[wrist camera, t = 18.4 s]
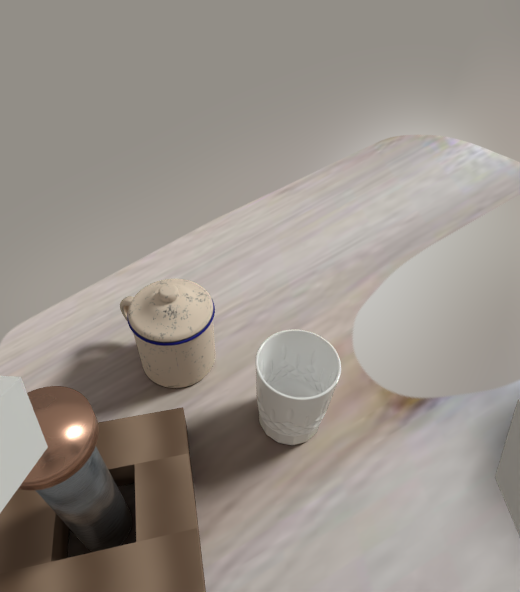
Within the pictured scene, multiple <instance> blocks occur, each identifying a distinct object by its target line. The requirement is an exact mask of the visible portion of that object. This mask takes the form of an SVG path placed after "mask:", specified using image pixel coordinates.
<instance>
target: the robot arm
mask: <svg viewBox="0 0 520 592" xmlns="http://www.w3.org/2000/svg"><path fill="white" fill-rule="evenodd" d="M47 448H48V446H47V443H46V441H45V438H44V436H43V433H42V431H41V428H40V425H39V423H38V420H37V418H36V415H35V413H34V410H33V407H32V405H31V402H30V400H29V397H28V395H27V392H26V389H25V387H24V384H23V382H22V379H21V377H13V376H0V513H1V512H2V510H3V509H4V507H5V506H6V505H7V503H8V502H9V500H10V499H11V498H12V496H13V495H14V493H15V492H16V491H17V489H18V488H19V487H20V485H21V484H22V482H23V481H24V480H25V478H26V477H27V475H28V474H29V473H30V471H31V470H32V468H33V467H34V466H35V464H36V463H37V462H38V460H39V459H40V457H41V456H42V455H43V453H44V452H45V450H46V449H47ZM495 479H496V481H497V483H498V486H499V488H500V490H501V493H502V495H503V498H504V500H505V502H506V505H507V507H508V510H509V512H510V514H511V517H512V519H513V522H514V524H515V526H516V529H517V531H518V533H519V536H520V399H518V402H517V405H516V409H515V412H514V415H513V419H512V422H511V425H510V429H509V432H508V436H507V439H506V442H505V446H504V449H503V452H502V456H501V459H500V463H499V466H498V469H497V473H496V476H495Z"/></svg>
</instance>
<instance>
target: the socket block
mask: <svg viewBox="0 0 520 592" xmlns="http://www.w3.org/2000/svg"><path fill="white" fill-rule="evenodd" d="M98 426H99V434H98V440H97V444H96V447H97V449H98V451H99V453H100V455H101V457H102V459H103V460H104V462H105V464H106V466H107V468H108V470H109V472H110V474H111V476H112V477H113V479H114V481H115V483H116V485H117V487H119V486H124V485H129V484H133V483H135V506H136V542H135V543H130V544H126V545H122V546H117V547H113V548H109V549H104V550H100V551H96V552H91V553H87V554H83V555H78V556H74V557H70V558H67V551H68V537H69V527H68V526H67V525H66V524H65V523H64V522H63V521H62V520H61V518H60V517H59V516H58V515H57V514H56V513H55V512H54V511H53V510H52V508H51V507H50V506H49V505H48V504H47V503H46V502H45V501H44V499H43V498H42V497H41V496H40V495H39V494H38V493H37V492H36V491H35V490H21V489H17V491H16V492H15V493H14V495H13V496H12V498H11V499H10V500H9V502H8V503H7V505H6V506H5V507H4V509H3V510H2V512H1V513H0V592H206V589H205V580H204V572H203V563H202V554H201V546H200V537H199V529H198V520H197V512H196V503H195V494H194V486H193V477H192V469H191V460H190V452H189V443H188V434H187V426H186V421H185V415H184V410H183V408H177V409H172V410H166V411H161V412H155V413H149V414H144V415H138V416H133V417H127V418H122V419H116V420H111V421H105V422H99V423H98Z"/></svg>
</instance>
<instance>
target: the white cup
mask: <svg viewBox="0 0 520 592" xmlns="http://www.w3.org/2000/svg"><path fill="white" fill-rule="evenodd" d="M340 374H341V362H340V358H339V356H338V354H337V352H336V350H335V349H334V347H333V346H332V345H331V344H330V343H329V342H328V341H327V340H325V339H324V338H322V337H321V336H319V335H317V334H315V333H312V332H309V331H305V330H285V331H281V332H278V333H275V334H273V335H272V336H270V337H269V338H267V339H266V340H265V341H264V342H263V343H262V344H261V346H260V347H259V349H258V351H257V354H256V392H257V405H258V408H259V423H260V424H261V426H262V428H263V430H264V431H265V433H266V435H268V436H269V437H271V438H272V439H274V440H275V441H276V442H278V443H283V444H288V445H296V444H300V443H304V442H307V441H308V440H309V439H310V438H311V437H312V436H314V435H315V434H316V433H317V430H318V427H319V425H320V422H321V420H322V419H323V418H324V416H325V413H326V411H327V409H328V406H329V404H330V401H331V398H332V396H333V393H334V390H335V388H336V385H337V383H338V380H339V377H340Z"/></svg>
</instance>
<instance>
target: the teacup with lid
mask: <svg viewBox="0 0 520 592" xmlns="http://www.w3.org/2000/svg"><path fill="white" fill-rule="evenodd" d="M120 309H121V312H122V314H123V316H124V317H125V319H126V320H127V321H128V324H129V326H130V329H131V330H132V332H133V333H134V337H135V340H136V344H137V348H138V351H139V355H140V359H141V362H142V366H143V369H144V371H145V373H146V375H147V376H148V377H149V378H150V379H151V380H152V381H153V382H155V383H157V384H159V385H161V386H164V387H169V388H181V387H186V386H190V385H192V384H195V383H197V382H198V381H200V380H201V379H203V378H204V377H205V376H206V375H207V374H208V373H209V371H210V370H211V368H212V367H213V364H214V361H215V342H214V326H213V317H214V313H215V308H214V303H213V300H212V298H211V297H210V295H209V293H208V292H207V291H206V290H205V289H204V288H203V287H201V286H200V285H198V284H196V283H194V282H192V281H188V280H184V279H166V280H161V281H157V282H154V283H152V284H150V285H148V286H146V287H145V288H143V289H142V290H141V291H139V292H138V293H137V294H136V295H135V297H132V296H129V297H126V298H124V299H123V300H122V301H121V303H120Z"/></svg>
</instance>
